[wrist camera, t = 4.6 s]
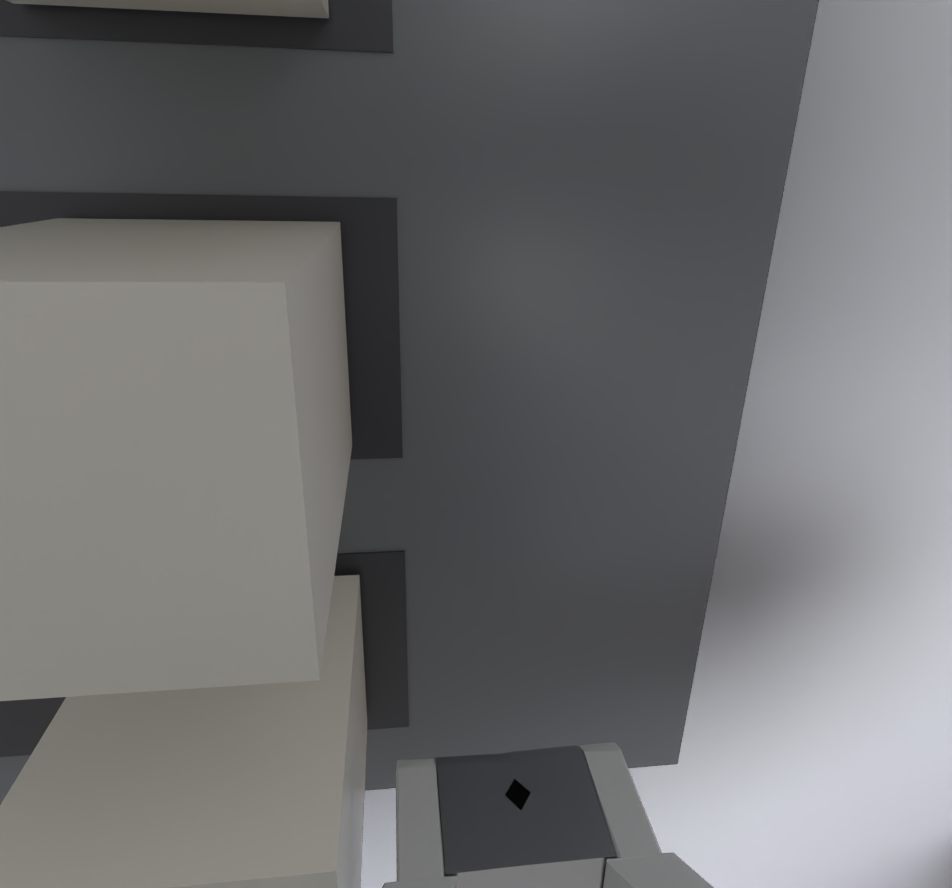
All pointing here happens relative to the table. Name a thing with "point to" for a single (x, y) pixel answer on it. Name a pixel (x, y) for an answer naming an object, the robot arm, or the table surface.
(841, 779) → the table surface
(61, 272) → the tab middle
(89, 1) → the tab inner
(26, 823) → the block
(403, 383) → the switch panel
